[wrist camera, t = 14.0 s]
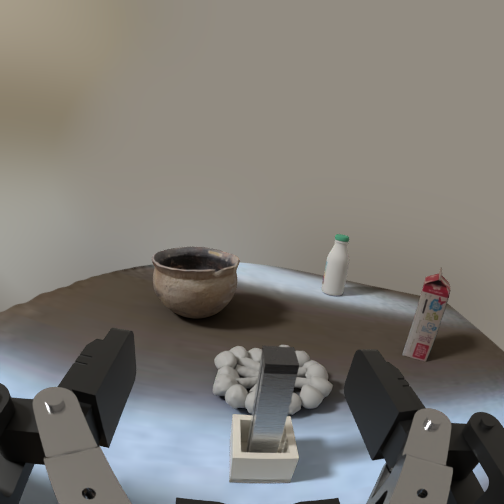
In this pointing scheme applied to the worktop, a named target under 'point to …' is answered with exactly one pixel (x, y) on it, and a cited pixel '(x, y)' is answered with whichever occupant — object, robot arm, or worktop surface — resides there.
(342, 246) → the milk bottle
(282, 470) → the open box
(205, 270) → the ceramic bowl
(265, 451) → the grey long square block
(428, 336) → the juice carton
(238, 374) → the campfire
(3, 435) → the robot arm
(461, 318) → the worktop surface
